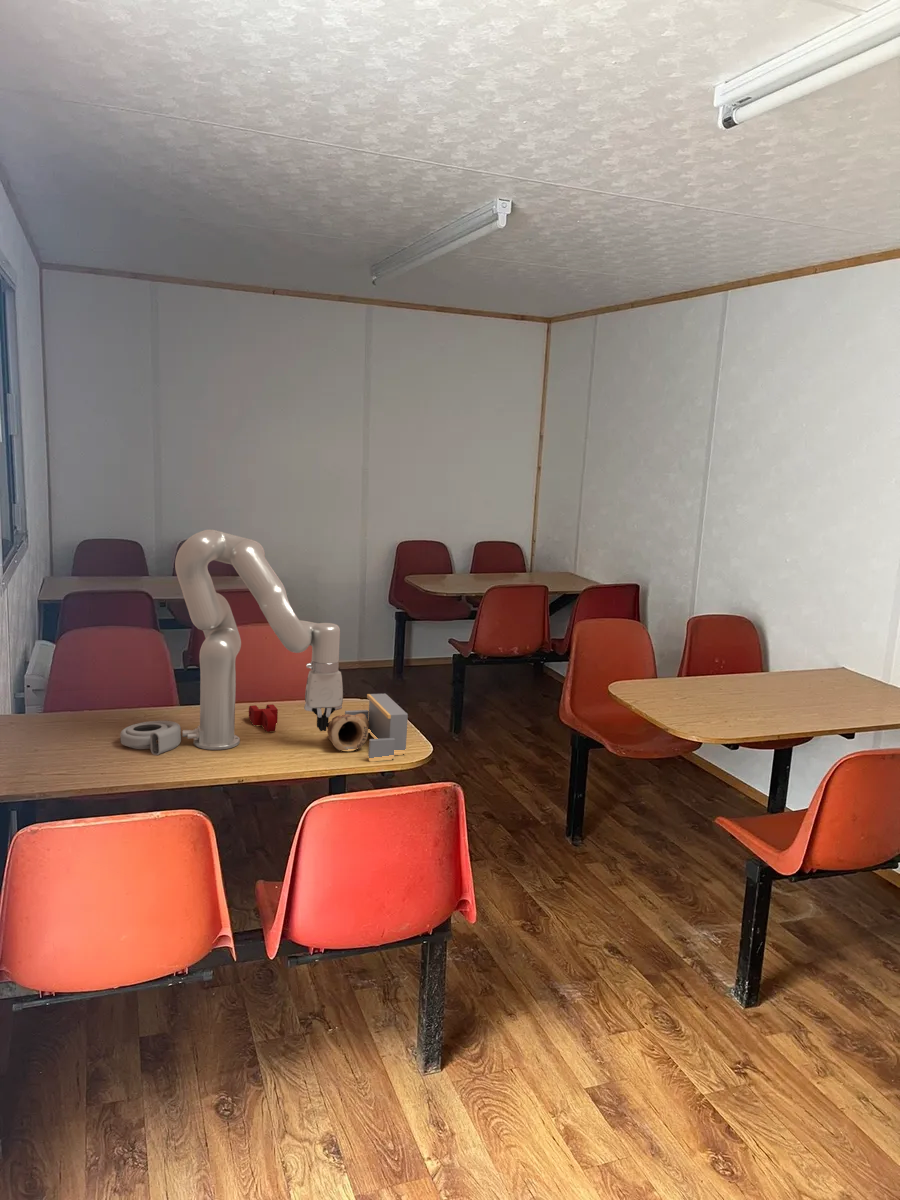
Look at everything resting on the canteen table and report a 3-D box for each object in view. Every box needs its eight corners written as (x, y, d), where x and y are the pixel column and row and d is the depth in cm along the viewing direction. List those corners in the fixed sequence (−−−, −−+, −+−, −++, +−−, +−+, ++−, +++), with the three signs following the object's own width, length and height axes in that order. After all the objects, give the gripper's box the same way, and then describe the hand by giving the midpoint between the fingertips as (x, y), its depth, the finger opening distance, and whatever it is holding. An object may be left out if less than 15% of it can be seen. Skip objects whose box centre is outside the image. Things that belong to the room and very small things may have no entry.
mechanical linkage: (248, 719, 271) (248, 703, 270) (271, 717, 274) (271, 702, 273) (259, 734, 256) (260, 718, 256) (283, 733, 259) (284, 717, 259)
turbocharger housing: (150, 736, 252) (109, 750, 239) (149, 714, 251) (108, 726, 238) (195, 743, 245) (156, 758, 231) (194, 721, 244) (155, 734, 231)
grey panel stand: (369, 761, 239) (371, 719, 237) (344, 729, 266) (345, 691, 264) (409, 759, 243) (411, 718, 241) (380, 727, 270) (382, 690, 268)
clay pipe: (312, 758, 250) (346, 755, 240) (305, 721, 250) (339, 717, 240) (360, 743, 264) (394, 740, 254) (353, 708, 264) (387, 704, 254)
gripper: (301, 670, 239) (298, 735, 242) (354, 669, 244) (351, 732, 247) (296, 664, 246) (293, 727, 249) (347, 663, 251) (344, 724, 254)
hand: (322, 729), depth 248 cm, fingers closed
